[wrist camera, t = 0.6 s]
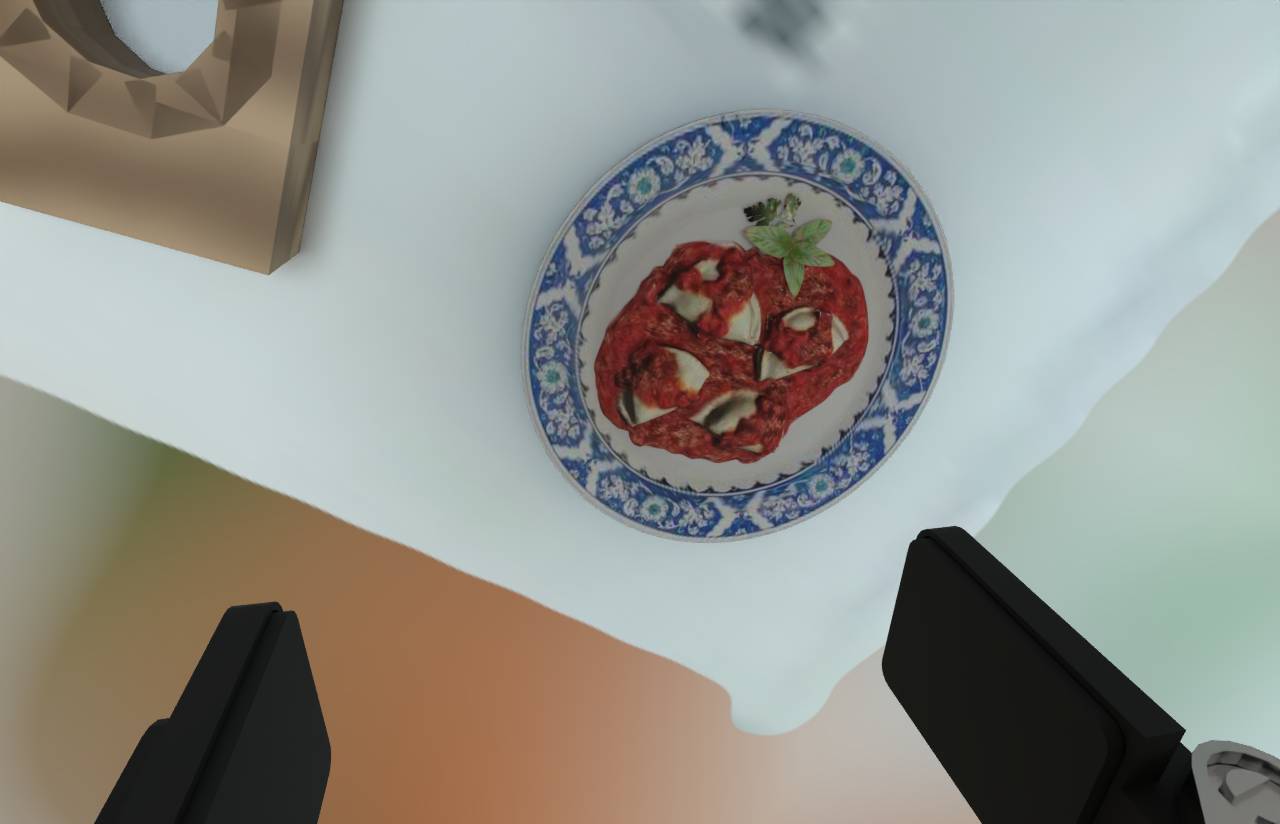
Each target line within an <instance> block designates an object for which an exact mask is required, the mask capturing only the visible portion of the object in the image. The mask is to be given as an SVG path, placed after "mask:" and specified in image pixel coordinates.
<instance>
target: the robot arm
mask: <svg viewBox="0 0 1280 824" xmlns="http://www.w3.org/2000/svg"><path fill="white" fill-rule="evenodd" d="M882 671H883V675H884V678H885V681H886V682H887V684H888V686H889V687H890V689H891V690H892V692H893V693H894V695H895V696H896V698H897V699H898V701H899V702H900V703H901V705H902V706H903V708H904V709H905V711H906V712H907V714H908V715H909V717H910V718H911V720H912V721H913V723H914V724H915V726H916V727H917V729H918V730H919V732H920V733H921V735H922V736H923V737H924V739H925V741H926V742H927V743H928V745H929V746H930V748H931V749H932V751H933V752H934V754H935V755H936V757H937V758H938V760H939V761H940V762H941V764H942V766H943V767H944V768H945V770H946V771H947V773H948V774H949V776H950V777H951V779H952V780H953V782H954V783H955V785H956V786H957V788H958V789H959V791H960V792H961V793H962V795H963V796H964V798H965V799H966V801H967V802H968V804H969V805H970V807H971V808H972V810H973V811H974V813H975V814H976V816H977V817H978V818H979V820H980V822H981V823H982V824H1280V760H1279V759H1278V758H1276V757H1274V756H1272V755H1270V754H1267V753H1265V752H1263V751H1260V750H1258V749H1255V748H1253V747H1250V746H1247V745H1243V744H1239V743H1235V742H1231V741H1214V740H1211V741H1208V742H1205V743H1202V744H1199V745H1198V746H1197V747H1196V748H1195V750H1194V751H1193V752H1192V753H1191V752H1190V751H1189V750H1188V749H1187V748H1186V747H1185V746H1184V745H1183V744H1182V743H1181V742H1180V741H1181V739H1182V737H1183V735H1184V733H1185V731H1186V730H1185V729H1184V728H1183V727H1182V726H1181V725H1179V724H1178V723H1177V722H1176V721H1175V720H1174V719H1173V718H1172V717H1171V716H1170V715H1168V714H1167V713H1166V712H1165V711H1164V710H1163V709H1162V708H1161V707H1160V706H1159V705H1157V704H1156V703H1155V702H1154V701H1153V700H1152V699H1151V698H1150V697H1148V696H1147V695H1146V694H1145V693H1144V692H1143V691H1142V690H1141V689H1140V688H1139V687H1138V686H1136V685H1135V684H1134V683H1133V682H1132V681H1131V680H1130V679H1129V678H1127V677H1126V676H1125V675H1124V674H1123V673H1122V672H1121V671H1120V670H1119V669H1117V667H1115V666H1114V665H1113V664H1112V663H1111V662H1110V661H1109V660H1108V659H1107V658H1106V657H1104V656H1103V655H1102V654H1101V653H1100V652H1099V651H1098V650H1097V649H1096V648H1094V647H1093V646H1092V645H1091V644H1090V643H1089V642H1088V641H1087V640H1086V639H1085V638H1083V637H1082V636H1081V635H1080V634H1079V633H1078V632H1077V631H1076V630H1075V629H1073V628H1072V627H1071V626H1070V625H1069V624H1068V623H1067V622H1066V621H1065V620H1064V619H1062V618H1061V617H1060V616H1059V615H1058V614H1057V613H1056V612H1055V611H1053V610H1052V609H1051V608H1050V607H1049V606H1048V605H1047V604H1046V603H1045V602H1044V601H1042V600H1041V599H1040V598H1039V597H1038V596H1037V595H1036V594H1035V593H1034V592H1032V591H1031V590H1030V589H1029V588H1028V587H1027V586H1026V585H1025V584H1024V583H1023V582H1021V581H1020V580H1019V579H1018V578H1017V577H1016V576H1015V575H1014V574H1013V573H1012V572H1010V571H1009V570H1008V569H1007V568H1006V567H1005V566H1004V565H1003V564H1002V563H1001V562H999V561H998V560H997V559H996V558H995V557H994V556H993V555H992V554H991V553H989V552H988V551H987V550H986V549H985V548H984V547H983V546H982V545H981V544H980V543H978V542H977V541H976V540H975V539H974V538H973V537H972V536H971V535H970V534H969V533H967V532H966V531H965V530H964V529H962V528H961V527H957V526H951V527H942V528H933V529H925V530H922V531H921V532H920V533H919V534H918V536H917V539H916V540H913V541H912V542H911V543H910V545H909V548H908V552H907V556H906V561H905V565H904V569H903V574H902V578H901V582H900V586H899V591H898V595H897V599H896V603H895V608H894V612H893V616H892V620H891V625H890V629H889V633H888V637H887V642H886V646H885V650H884V654H883V659H882ZM330 764H331V747H330V742H329V738H328V734H327V730H326V726H325V723H324V718H323V715H322V711H321V707H320V703H319V700H318V695H317V691H316V687H315V683H314V680H313V676H312V672H311V668H310V664H309V660H308V656H307V653H306V648H305V644H304V641H303V637H302V633H301V629H300V625H299V621H298V618H297V615H296V613H295V612H294V611H284V612H283V609H282V607H281V605H280V604H279V603H278V602H267V603H258V604H249V605H241V606H232V607H230V608H229V609H227V611H226V612H225V614H224V615H223V617H222V619H221V621H220V623H219V625H218V627H217V629H216V630H215V633H214V634H213V636H212V638H211V640H210V642H209V644H208V646H207V648H206V650H205V652H204V653H203V656H202V657H201V659H200V661H199V663H198V665H197V667H196V669H195V671H194V672H193V674H192V676H191V678H190V680H189V682H188V684H187V686H186V688H185V690H184V692H183V694H182V695H181V697H180V699H179V701H178V703H177V705H176V707H175V709H174V711H173V713H172V715H171V716H170V718H167V719H160V720H157V721H156V722H155V723H153V724H152V725H151V726H150V727H149V728H148V729H147V731H146V732H145V734H144V735H143V736H142V738H141V740H140V741H139V743H138V745H137V747H136V749H135V750H134V752H133V754H132V756H131V758H130V759H129V761H128V763H127V765H126V767H125V768H124V770H123V772H122V774H121V776H120V778H119V780H118V781H117V783H116V785H115V787H114V788H113V790H112V792H111V794H110V796H109V797H108V799H107V801H106V803H105V805H104V807H103V808H102V810H101V812H100V814H99V816H98V818H97V819H96V821H95V823H94V824H317V822H318V818H319V814H320V810H321V806H322V802H323V798H324V793H325V789H326V785H327V781H328V776H329V772H330Z"/></svg>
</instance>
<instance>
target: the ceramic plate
mask: <svg viewBox="0 0 1280 824" xmlns="http://www.w3.org/2000/svg"><path fill="white" fill-rule="evenodd" d="M953 307H954V285H953V275H952V266H951V260H950V255H949V251H948V246H947V241H946V238H945V235H944V232H943V229H942V227H941V224H940V222H939V220H938V217H937V215H936V213H935V211H934V209H933V206H932V204H931V203H930V201H929V199H928V198H927V196H926V194H925V193H924V191H923V189H922V188H921V186H920V185H919V184H918V183H917V181H916V180H915V179H914V177H913V176H912V175H911V174H910V172H909V171H908V170H907V169H906V168H905V167H904V166H903V165H902V164H901V163H900V162H899V161H898V160H897V159H896V158H895V157H894V156H893V155H892V154H891V153H889V152H888V151H887V150H885V149H884V148H883V147H882V146H880V145H879V144H878V143H876V142H875V141H874V140H872V139H870V138H869V137H867V136H865V135H864V134H862V133H860V132H859V131H857V130H855V129H852V128H850V127H848V126H846V125H844V124H841V123H839V122H836V121H833V120H830V119H827V118H824V117H821V116H818V115H812V114H806V113H800V112H794V111H788V110H774V109H762V110H744V111H737V112H731V113H726V114H722V115H717V116H713V117H709V118H705V119H701V120H698V121H695V122H692V123H689V124H687V125H684V126H682V127H679V128H677V129H674V130H672V131H670V132H668V133H666V134H664V135H662V136H660V137H658V138H656V139H654V140H652V141H650V142H649V143H647V144H646V145H644V146H642V147H641V148H639V149H638V150H636V151H635V152H633V153H632V154H630V155H629V156H627V157H626V158H625V159H624V160H622V161H621V162H620V163H619V164H618V165H616V166H615V167H614V168H612V169H611V170H610V171H609V172H607V173H606V174H605V175H604V176H603V177H602V178H601V179H599V180H598V181H597V182H596V183H595V184H594V185H593V187H592V188H591V189H590V190H589V191H588V192H587V193H586V194H585V196H584V197H583V198H582V199H581V200H580V202H579V203H578V204H577V205H576V206H575V208H574V209H573V210H572V211H571V213H570V214H569V216H568V217H567V219H566V220H565V222H564V223H563V225H562V226H561V227H560V229H559V230H558V232H557V234H556V235H555V237H554V239H553V241H552V243H551V245H550V247H549V248H548V250H547V252H546V254H545V256H544V259H543V261H542V263H541V266H540V268H539V271H538V273H537V275H536V277H535V280H534V284H533V287H532V290H531V294H530V297H529V300H528V305H527V310H526V316H525V321H524V328H523V338H522V375H523V382H524V389H525V396H526V400H527V405H528V409H529V413H530V416H531V419H532V422H533V424H534V427H535V430H536V433H537V435H538V437H539V439H540V441H541V443H542V445H543V447H544V449H545V451H546V453H547V454H548V456H549V458H550V459H551V461H552V462H553V464H554V465H555V467H556V468H557V469H558V471H559V472H560V473H561V475H562V476H563V477H564V478H565V480H566V481H567V482H568V483H569V484H570V485H571V486H572V487H573V488H574V489H575V490H576V491H577V492H578V493H579V494H580V495H581V496H582V497H583V498H584V499H585V500H587V501H588V502H589V503H590V504H592V505H593V506H594V507H596V508H597V509H599V510H600V511H602V512H603V513H605V514H606V515H608V516H609V517H611V518H613V519H615V520H617V521H619V522H620V523H622V524H624V525H626V526H629V527H631V528H634V529H636V530H639V531H641V532H644V533H647V534H651V535H654V536H658V537H661V538H666V539H672V540H677V541H685V542H695V543H719V542H732V541H739V540H745V539H752V538H756V537H760V536H764V535H768V534H771V533H775V532H778V531H781V530H784V529H787V528H789V527H792V526H794V525H796V524H799V523H801V522H804V521H806V520H808V519H810V518H812V517H814V516H816V515H818V514H820V513H821V512H823V511H825V510H826V509H828V508H830V507H831V506H833V505H835V504H836V503H838V502H839V501H841V500H842V499H844V498H845V497H846V496H848V495H849V494H851V493H852V492H853V491H855V490H856V489H857V488H858V487H860V486H861V485H862V484H863V483H864V482H866V481H867V480H868V479H869V478H870V477H871V476H872V475H873V474H874V473H875V472H876V471H877V470H878V469H879V468H880V467H881V466H883V465H884V463H885V462H886V461H887V460H888V459H889V458H890V457H891V456H892V454H893V453H894V452H895V451H896V450H897V449H898V447H899V446H900V445H901V443H902V442H903V441H904V439H905V438H906V437H907V435H908V434H909V433H910V431H911V430H912V428H913V427H914V425H915V423H916V422H917V420H918V419H919V417H920V415H921V413H922V412H923V410H924V408H925V406H926V404H927V402H928V401H929V398H930V396H931V394H932V392H933V390H934V387H935V385H936V383H937V380H938V378H939V375H940V372H941V369H942V367H943V364H944V361H945V358H946V353H947V349H948V344H949V339H950V333H951V327H952V319H953Z"/></svg>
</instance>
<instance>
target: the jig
mask: <svg viewBox="0 0 1280 824" xmlns="http://www.w3.org/2000/svg"><path fill="white" fill-rule="evenodd" d="M342 6H343V0H219V2H218V11H217V19H216V27H215V36H214V41H213V42H212V43H211V44H210V45H209V46H208V47H207V48H206V49H205V51H204V52H203V53H202V54H201V55H200V56H199V57H198V58H197V59H196V60H195V61H194V62H193V63H192V64H191V65H190V66H189V68H188V69H187V70H186V71H184V72H178V73H172V74H165V73H162V72H159V71H156V70H154V69H151V68H150V67H149V66H148V65H147V64H146V63H145V62H143V61H142V60H141V59H140V58H139V57H138V56H137V55H136V54H135V53H134V52H133V51H131V50H130V49H129V48H128V47H127V46H126V45H125V44H124V43H123V42H122V41H121V40H120V39H118V38H117V37H116V36H115V34H114V32H113V30H112V28H111V26H110V24H109V21H108V19H107V17H106V15H105V13H104V10H103V8H102V6H101V4H100V2H99V0H0V201H1V202H5V203H8V204H12V205H16V206H19V207H23V208H26V209H30V210H34V211H37V212H41V213H45V214H48V215H52V216H55V217H59V218H63V219H66V220H70V221H74V222H77V223H81V224H84V225H88V226H92V227H95V228H99V229H103V230H106V231H110V232H113V233H117V234H121V235H124V236H128V237H132V238H135V239H139V240H143V241H146V242H150V243H153V244H157V245H161V246H164V247H168V248H172V249H175V250H179V251H182V252H186V253H190V254H193V255H197V256H201V257H204V258H208V259H211V260H215V261H219V262H222V263H226V264H230V265H233V266H237V267H240V268H244V269H248V270H251V271H255V272H259V273H262V274H266V275H269V274H271V273H272V272H273V271H275V270H276V269H277V268H279V267H280V266H281V265H283V264H284V263H285V262H287V261H288V260H289V259H291V258H292V257H293V256H295V255H296V254H297V253H299V248H300V243H301V237H302V232H303V226H304V220H305V215H306V209H307V203H308V198H309V192H310V186H311V181H312V175H313V170H314V164H315V158H316V153H317V147H318V141H319V136H320V130H321V124H322V119H323V113H324V108H325V102H326V96H327V91H328V85H329V79H330V74H331V68H332V62H333V57H334V51H335V46H336V40H337V34H338V29H339V23H340V17H341V12H342Z"/></svg>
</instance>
